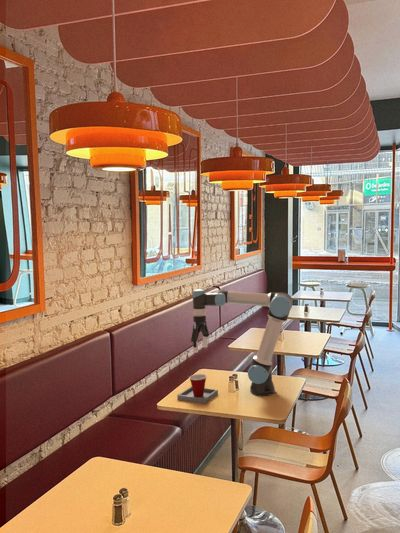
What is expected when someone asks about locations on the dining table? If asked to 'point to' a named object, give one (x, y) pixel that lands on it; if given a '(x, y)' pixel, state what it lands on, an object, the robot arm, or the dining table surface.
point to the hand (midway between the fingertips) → (200, 349)
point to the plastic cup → (198, 384)
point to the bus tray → (189, 396)
